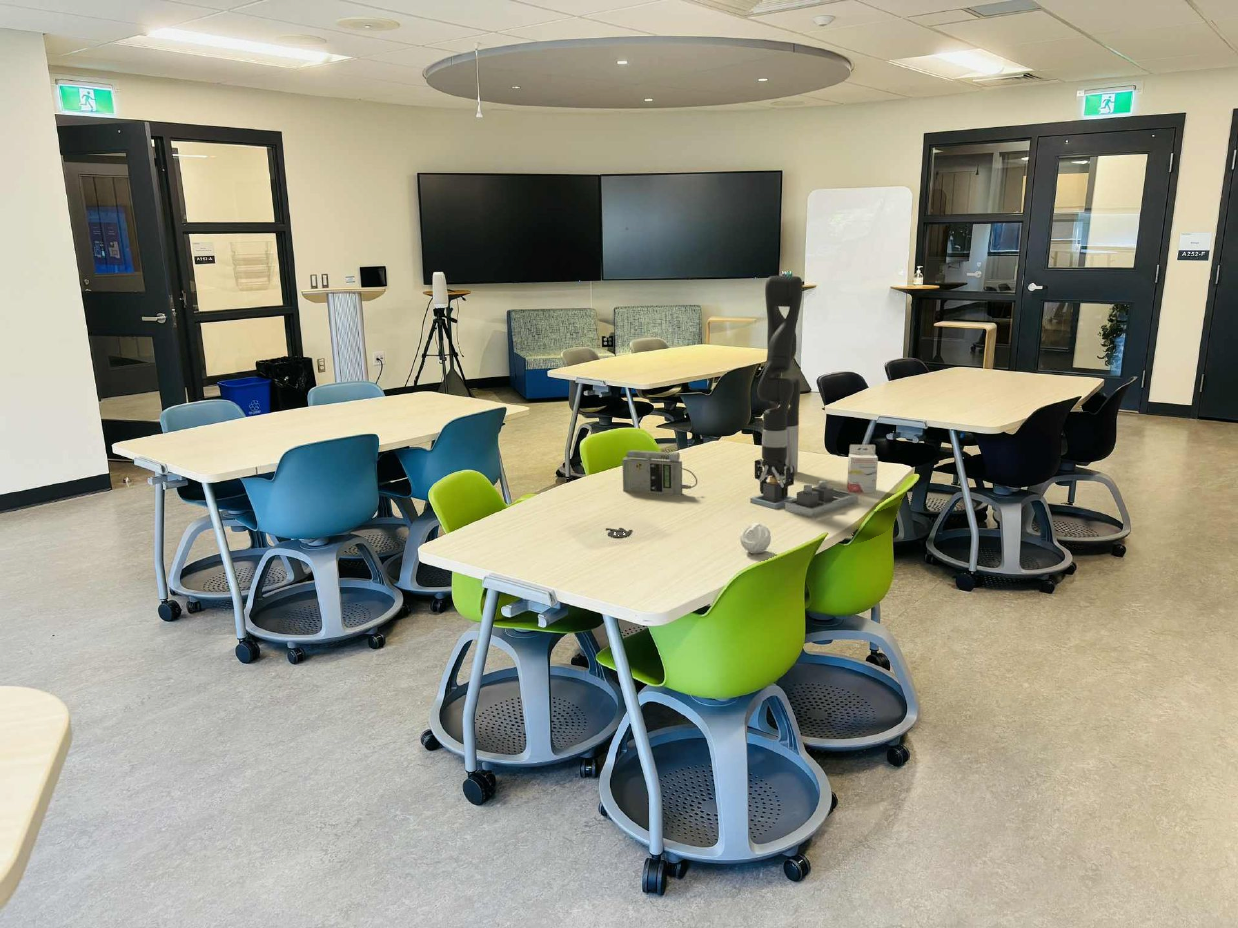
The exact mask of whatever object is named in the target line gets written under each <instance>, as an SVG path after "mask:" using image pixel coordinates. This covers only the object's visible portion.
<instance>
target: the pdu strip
mask: <svg viewBox="0 0 1238 928" xmlns="http://www.w3.org/2000/svg"><path fill="white" fill-rule="evenodd" d="M796 501H797V499H794V500H791V501H788V502H785V506H784V508H785V510H784V511H785V512H788V513H793V514H796V515H799V516H800V515H801V516H804V517H807V518H811V519H812V518H815V517H820V516H821V515H826V514H828V513H831V512H835V511H838V510H840V509H841V510H842V509H843V508H846V507H849V506H853V505H856V504H859V493H855V492H849V491H847V490H846V491H845V490H841V489H837V488H836V489H835V488H833V501H831V502H828V503H825V502H821V501H818V506H816V507H813V508H811V507H807V506H803V505H799V504H796Z"/></svg>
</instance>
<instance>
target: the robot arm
mask: <svg viewBox="0 0 1238 928" xmlns="http://www.w3.org/2000/svg"><path fill="white" fill-rule="evenodd" d="M803 286H804V285H803V280H802V278H801V277H800V276H795V275H794V276H793V275H770V276H769V277H767V279H766V282H765V286H764V287H765V288H764V290H765V291H764V292H765V293H764V295H765V306H766V307H765V308H766V316H767V337H766V338H767V354H766V363H765V367H764V370H763V373H762V376H761V377H760V380H759V382H758V385H757V390H756V391H757V392H756V393H757V396H758V398H759V399H760V401H763V402H768V403H769V404H772V405H778V406H777V407H775V408H767V409H765V410H764V411H763V415H762V419H763V421H762V426H763V427H762V436H761V458H760V459H756V460H754V479H755V480H758V481H759V491H760V495H763V484H764V483H767V482H768V481H767V480H768V479H769V478H770V477H771V476H773V477H776V479H777V481H778V482H779V483H780V485H781V487H780V498H781V499H785V498H786V497H787V496H789V491H788V490H789V487H791V486H794V484H795V476H796V475H797V474H798V472H799V471H798V469H799V468H798V467H799V463H798V462H799V431H800V430H799V429H800V428H799V427H800V425H799V424H800V420H799V419H800V417H799V415H800V402H801V401H800V398H801V382H800V379H799V378H798V377H780V375H781V373H786V372H788V371H789V370H790V367H791V362H792V360H793V359H794V357H795V356H796V353H797V334H796V327H797V324H798V319H799V314H800V308H801V305H802V299H803V289H804V288H803ZM780 307H784V308H787V307H788V312H787V315H786V316H785V317H784V315H783V314H782V312H781V310H780Z"/></svg>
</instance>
